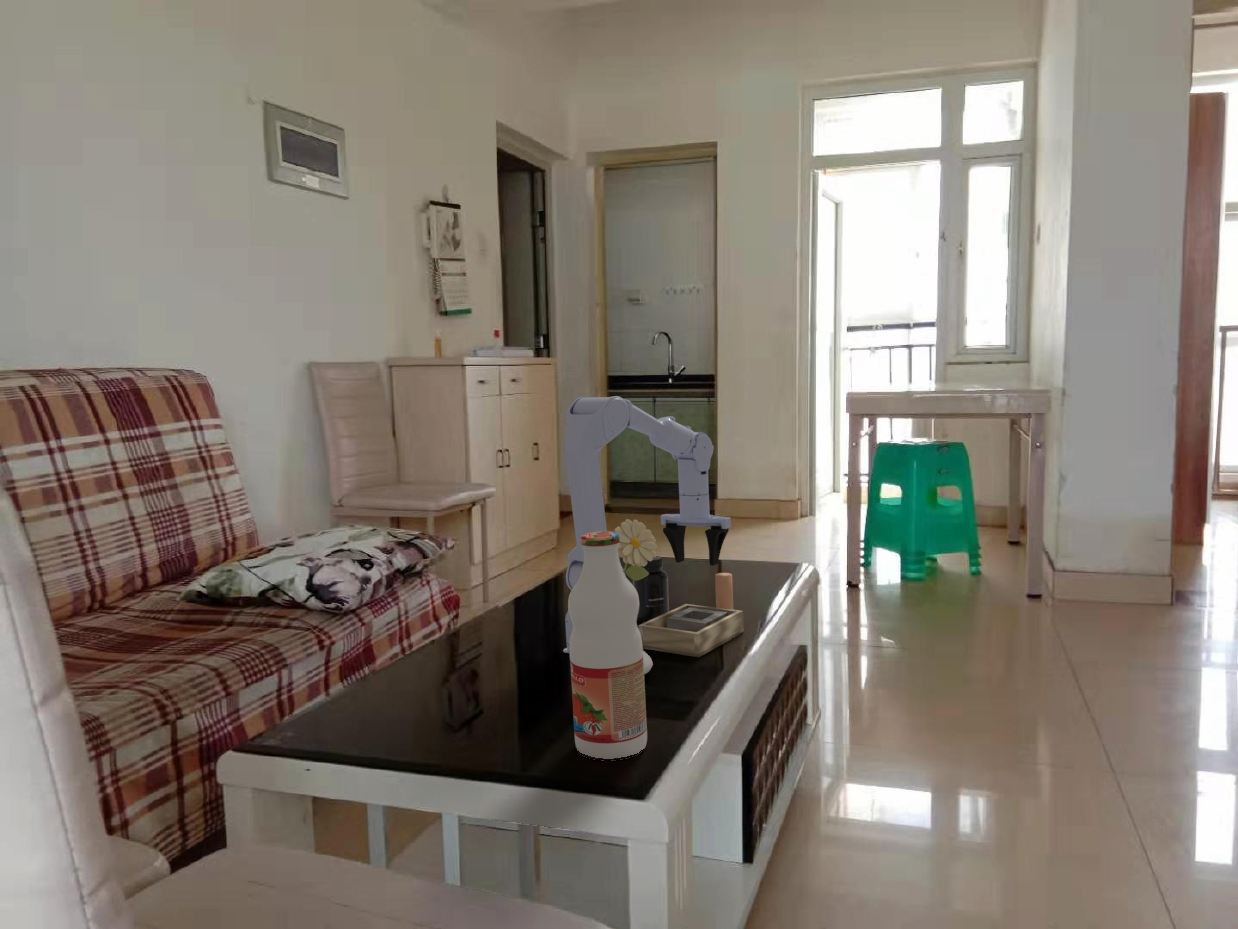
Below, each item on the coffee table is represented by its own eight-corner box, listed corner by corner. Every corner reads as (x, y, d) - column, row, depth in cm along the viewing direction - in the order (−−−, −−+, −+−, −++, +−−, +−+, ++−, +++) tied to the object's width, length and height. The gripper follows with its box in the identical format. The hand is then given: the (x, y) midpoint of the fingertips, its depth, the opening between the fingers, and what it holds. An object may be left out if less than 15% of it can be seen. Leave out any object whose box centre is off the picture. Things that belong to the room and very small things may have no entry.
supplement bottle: (656, 625, 176) (653, 562, 175) (627, 620, 180) (624, 559, 179) (676, 616, 182) (673, 555, 180) (648, 612, 186) (645, 553, 184)
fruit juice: (651, 759, 116) (640, 538, 113) (575, 765, 116) (562, 543, 113) (644, 730, 125) (634, 525, 123) (574, 735, 125) (562, 530, 122)
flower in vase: (591, 692, 141) (582, 530, 139) (575, 669, 152) (566, 519, 150) (672, 680, 145) (665, 522, 142) (651, 659, 156) (643, 511, 153)
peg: (728, 624, 174) (726, 577, 173) (713, 622, 176) (711, 575, 175) (736, 620, 176) (735, 573, 176) (722, 618, 178) (720, 572, 177)
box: (699, 657, 155) (698, 634, 155) (639, 647, 162) (638, 625, 162) (743, 632, 168) (742, 610, 168) (686, 624, 175) (685, 603, 175)
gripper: (737, 492, 179) (739, 561, 180) (672, 489, 187) (675, 556, 188) (719, 497, 173) (722, 569, 174) (653, 494, 181) (657, 563, 183)
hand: (696, 563), depth 181 cm, fingers open, 7 cm apart
